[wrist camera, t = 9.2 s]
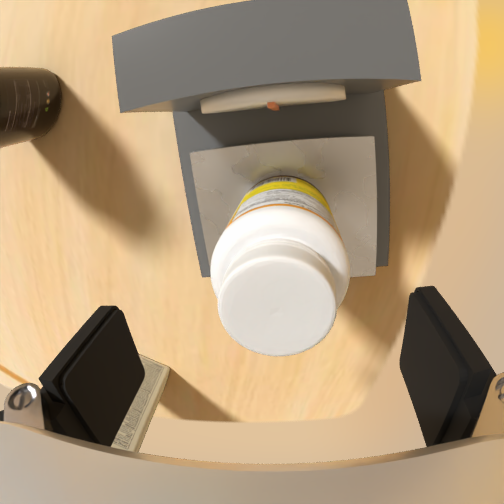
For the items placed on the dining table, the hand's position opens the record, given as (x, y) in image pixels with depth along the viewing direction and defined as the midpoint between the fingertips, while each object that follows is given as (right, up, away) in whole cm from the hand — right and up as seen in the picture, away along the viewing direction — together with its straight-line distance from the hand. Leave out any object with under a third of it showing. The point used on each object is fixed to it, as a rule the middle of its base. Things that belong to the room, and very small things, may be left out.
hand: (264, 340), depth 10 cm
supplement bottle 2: (+2, +5, +10) cm, 11 cm away
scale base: (+2, +9, +13) cm, 16 cm away
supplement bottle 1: (-20, +16, +13) cm, 29 cm away
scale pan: (+2, +6, +12) cm, 13 cm away
